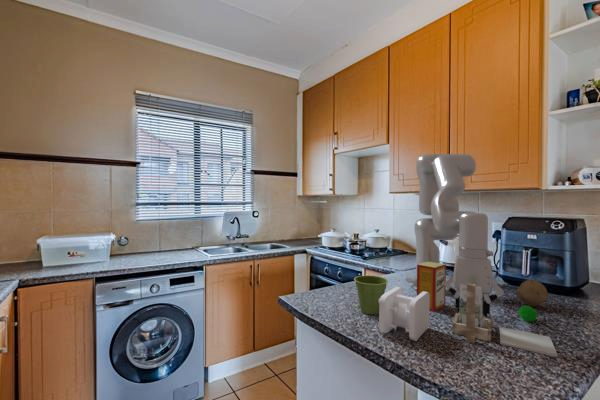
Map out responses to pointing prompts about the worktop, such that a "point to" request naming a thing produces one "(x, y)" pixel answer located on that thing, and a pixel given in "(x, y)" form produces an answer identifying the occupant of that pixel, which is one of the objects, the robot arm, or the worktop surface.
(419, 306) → the cable organizer
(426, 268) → the baking soda box
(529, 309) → the polyhedron
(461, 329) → the cradle
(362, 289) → the plant pot
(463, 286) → the syrup box
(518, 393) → the worktop surface
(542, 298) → the natural sponge
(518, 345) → the mat
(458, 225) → the robot arm
